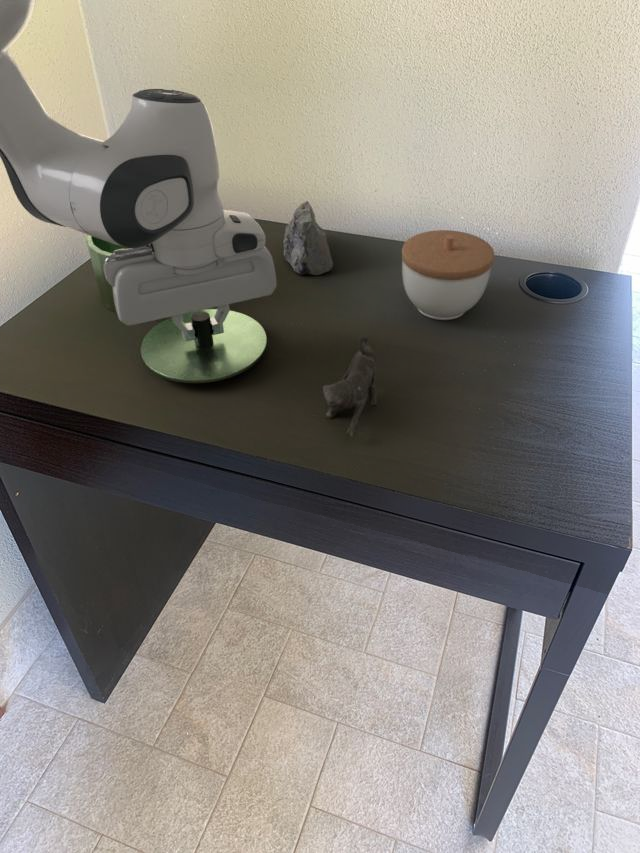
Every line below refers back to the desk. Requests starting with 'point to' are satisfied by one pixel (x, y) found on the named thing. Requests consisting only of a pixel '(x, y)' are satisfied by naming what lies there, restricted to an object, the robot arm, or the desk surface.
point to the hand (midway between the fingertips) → (203, 335)
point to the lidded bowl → (445, 272)
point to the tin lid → (204, 348)
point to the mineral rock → (306, 243)
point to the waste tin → (98, 255)
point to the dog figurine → (354, 386)
